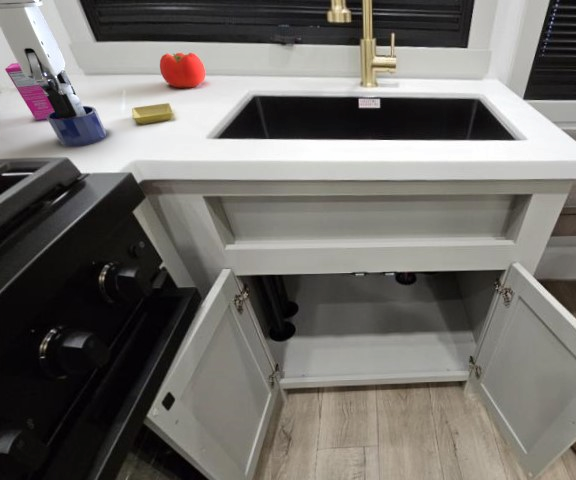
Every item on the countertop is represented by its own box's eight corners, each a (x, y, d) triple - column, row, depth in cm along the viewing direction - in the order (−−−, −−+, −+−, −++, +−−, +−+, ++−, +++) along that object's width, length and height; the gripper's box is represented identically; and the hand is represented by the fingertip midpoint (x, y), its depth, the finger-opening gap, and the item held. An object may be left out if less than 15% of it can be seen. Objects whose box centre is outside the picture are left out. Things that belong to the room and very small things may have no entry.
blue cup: (57, 150, 65) (41, 122, 61) (66, 135, 71) (52, 109, 67) (104, 144, 67) (91, 116, 63) (109, 130, 73) (97, 103, 69)
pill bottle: (63, 135, 66) (38, 90, 60) (71, 127, 69) (49, 83, 63) (89, 133, 66) (66, 88, 61) (95, 125, 70) (75, 81, 64)
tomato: (214, 81, 103) (208, 49, 97) (197, 92, 94) (189, 58, 88) (178, 80, 105) (169, 49, 99) (157, 91, 96) (146, 57, 90)
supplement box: (41, 115, 81) (11, 62, 74) (67, 112, 83) (41, 60, 75) (35, 122, 77) (3, 67, 70) (63, 119, 79) (35, 65, 71)
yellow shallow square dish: (135, 116, 80) (131, 107, 78) (171, 111, 82) (169, 102, 81) (136, 128, 74) (132, 118, 72) (175, 122, 76) (173, 112, 75)
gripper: (2, -7, 58) (58, 102, 70) (-39, -1, 46) (38, 129, 58) (50, -8, 60) (97, 98, 72) (22, -3, 48) (84, 124, 60)
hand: (70, 111), depth 65 cm, fingers closed on pill bottle, 4 cm apart
